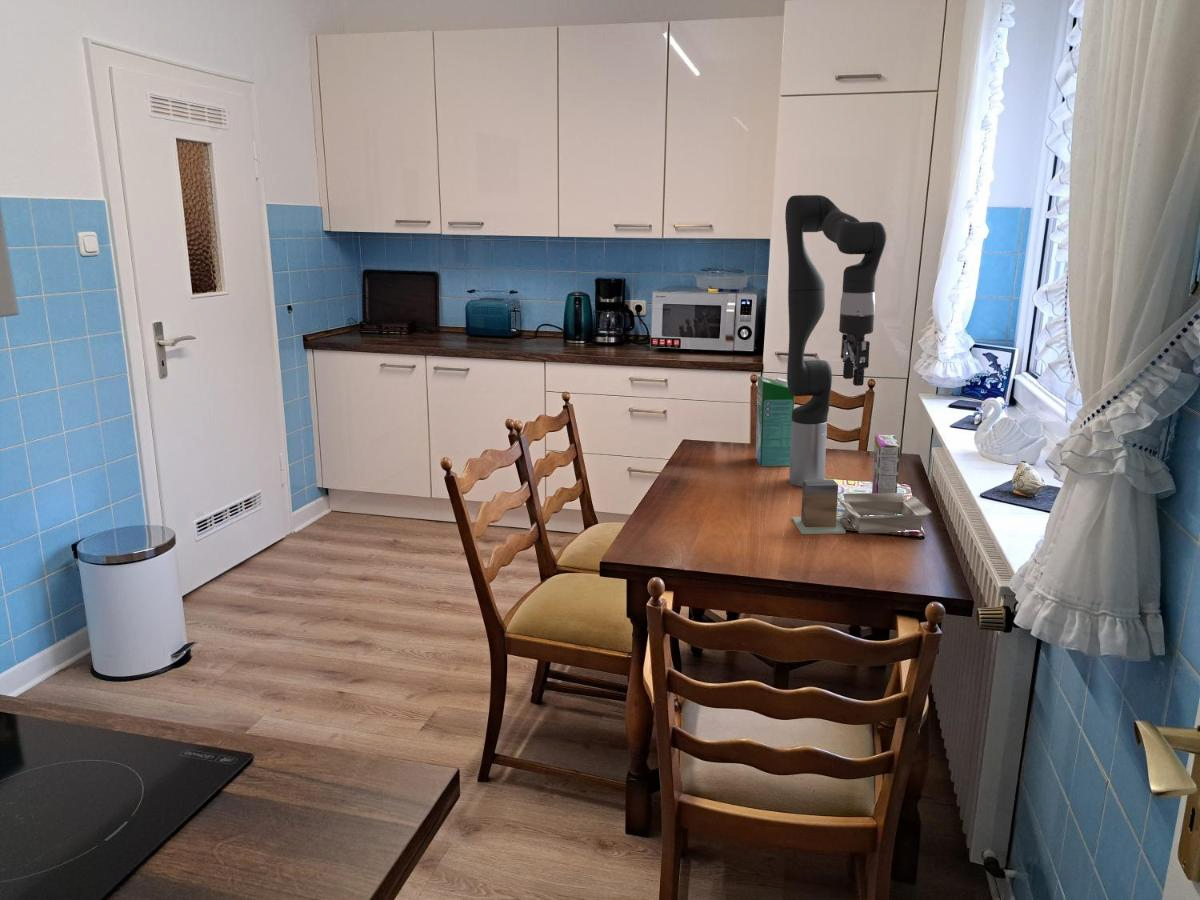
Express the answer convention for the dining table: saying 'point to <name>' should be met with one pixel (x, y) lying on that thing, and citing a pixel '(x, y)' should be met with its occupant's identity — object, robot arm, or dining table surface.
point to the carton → (883, 512)
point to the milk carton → (773, 422)
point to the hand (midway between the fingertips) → (852, 381)
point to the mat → (818, 528)
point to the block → (819, 503)
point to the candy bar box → (885, 464)
